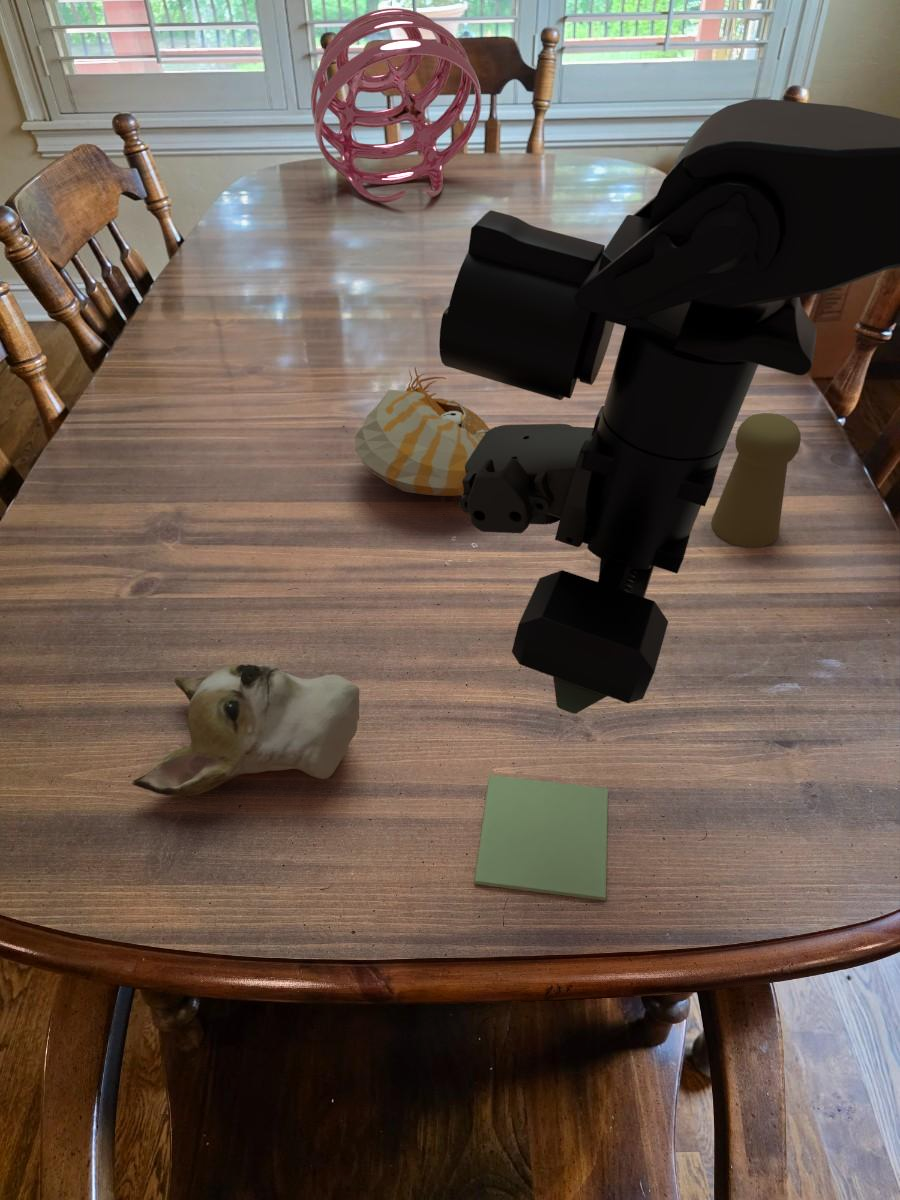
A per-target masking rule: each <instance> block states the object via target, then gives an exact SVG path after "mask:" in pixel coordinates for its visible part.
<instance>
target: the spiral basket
mask: <svg viewBox="0 0 900 1200" xmlns="http://www.w3.org/2000/svg"><path fill="white" fill-rule="evenodd" d="M391 29H401V30H402V31H404V33H405V35H406V37H407V38H404V39H403V38H402V39H397V40H396V39H395V40H391V41H387V42H384V43H381V44H378V45H377V44H376V45H375V46H372V47H370V48H368V49H366V50H364V51H362V52H360V53H358V54H357V55H355V56H354V57H352V58H351V59H349V50H350V47H351V46H352V45H354V44H355V43H357V42H358V41H360V40H362V39H365V38H367V37H368V36H370V35H373V34H376V33H379V32H382V31H386V30H391ZM420 29H422V30H426V31H429V32H430V31H431V33H432V35H433V36H434V38H435V40H430V39H425V38H423V35H422V33H421V30H420ZM450 43H451V44H452V45H453V46H454V47H455V49H454V48H453V47H451V45H450ZM423 56H428V57H435V58H437V64H436V66H435V70H434V72H433V74H432V76H431V77H430V79H429V81H428V82H427V83H426V84H425V86H424V87H423V88H422V89H421V90H420V91H419V92H418V93H416V94H414V93H412V91H410V89H409V87H408V84H407V82H408V80H409V79H410V78H411V77H412V76H413V75H414V74H415V72H416V71H417V70H418V68H419V66H420V63H421V62H422V59H423ZM399 57H405V58H404V59H403V60H402V62H401V63H400V64H399V65H398V66H395V64H393V63H392V61H391V60H390V59H394V58H395V59H396V58H399ZM334 61H335V67H336V70H337V71H336V72H335V73H334V74H333V75H332V76H331V78H330V79H328V74H327V71H328V69H329V67H330V66H331V64H332V63H333V62H334ZM384 61H385V63H386V65H387V68H388V72H387V73H385V74H381V75H366V74H365V72H366V69H369V68H370V67H372V66H375V65H377V64H379V63H382V62H384ZM452 64H454V65H455V66H457V67H458V68H460V69H461V79H460V83H459V86H458V90H457V92H456V94H455V96H454V98H453V100H452V101H451V103H450V105H449V106H448V107H447V109H446V110H445V111H444V112H443V113H442V115H440V117H438V118H437V119H436V120H435V121H434V122H432V123H428V122H427V121H426V119H425V117H424V113H425V110H426V109H427V107H429V106H430V105H431V104H432V103H433V102H434V101H435V100H436V99H437V98H438V96H439V95H440V94H441V92H442V90H443V89H444V87H445V85H446V84H447V81H448V79H449V76H450V72H451V68H452ZM311 85H312V86H311V91H310V109H311V114H312V119H313V129H314V135H315V139H316V143H317V145H318V148H319V150H320V152H321V154H322V155H323V157H324V159H325V160H326V161H327V163H328V164H329V166H331V167H332V168H333V169H334V170H336V171H337V172H338V173H339V174H341V175H342V176H343V177H345V178H346V180H348V182H349V183H350V184H351V185H352V187H353V188H354V190H356V192H357V193H358V194H360V195H361V196H362V197H364V198H365V199H367V200H369V201H371V202H373V203H374V202H375V203H381V204H388V203H392V202H396V201H398V200H400V199H402V198H403V197H404V196H406V195H407V190H406V189H405V190H401V191H398V192H396V193H394V194H390V195H384V196H381V195H375V194H372V193H371V192H369V191H368V190H367V189H366V188H365V186H364V185H363V184H370V185H377V186H378V185H381V186H382V185H383V186H384V185H395V184H396V185H397V184H402V183H406V182H410V181H413V180H416V179H420V178H422V177H428V178H429V180H430V184H431V186H430V187H431V189H430V188H428V187H424V189H423V190H424V193H425V194H426V195H427V196H428V197H430V198H435V197H437V196H438V195H439V194H440V193H442V190H443V186H444V175H443V174H444V173H443V169H444V168H445V166H446V165H447V163H449V162H450V161H451V160H452V159H453V158H454V157H455V156H456V155H458V154H459V153H460V152H461V150H462V149H463V148H464V147H465V146H466V145H467V143H468V142H469V141H470V139H471V137H472V136H473V135H474V132H475V130H476V128H477V125H478V123H479V120H480V116H481V112H482V91H481V90H482V89H481V85H480V82H479V78H478V76H477V73H476V71H475V69H474V68H473V66H472V65H471V62H470V59H469V57H468V54H467V52H466V50H465V48H464V47H463V45H462V44H461V42H460V41H459V40H458V39H457V37H455V35H454V34H453V33H452V32H450V31H449V30H448V29H447V28H445V27H444V26H442V25H440V24H438V23H437V22H435V21H434V20H432V19H431V18H430V17H428V16H426V15H424V14H422V13H420V12H418V11H415V10H411V9H407V8H397V7H396V8H395V7H393V8H381V9H377V10H373V11H370V12H367V13H365V14H363V15H360V16H358V17H356V18H354V19H353V20H351V21H350V22H349V23H347V24H346V25H345V26H343V27H342V28H341V29H340V30H339V31H338V32H336V33H335V35H334V36H333V38H332V39H331V40H330V42H328V44H327V46H326V48H325V50H324V51H323V54H322V56H321V59H320V63H319V66H318V68H317V70H316V72H315V75H314V77H313V81H312V84H311ZM345 85H347V87H348V91H347V95H346V98H345V99H344V100H341V99H339V98H338V97H337V94H338V92H339V91H341V89H342V88H343V87H344V86H345ZM472 85H473V89H474V105H473V109H472V112H471V114H470V117H469V119H468V121H467V123H466V125H465V126H464V128H463V130H462V131H461V132H460V134H459V135H457V137H456V138H455V140H453V142H451V143H450V144H449V145H448V146H447V147H446V148H445V149H442V150H438V148H437V141H438V139H439V138H440V137H441V136H443V135H444V134H445V132H447V131H448V130H449V129H450V128H451V127H452V126H453V125H454V123H456V121H457V119H458V118H459V117H460V116H461V114H462V112H463V110H464V108H465V106H466V105H467V102H468V99H469V96H470V93H471V89H472ZM318 90H319V91H318ZM389 90H397V92H398V93H399V95H400V97H401V98H400V99H401V102H400V103H399V105H397V106H394V107H391V108H386V109H380V110H366V109H365V110H364V109H360V108H358V107H357V105H356V101H357V96H358V94H359V93H361V92H363V93H369V94H374V93H383V92H387V91H389ZM318 92H319V94H320V95H319V97H318ZM317 97H318V99H317ZM327 109H328V110H329V111H330V112H331V113H332V114H333V115H335V116H336V118H337V119H338V121H339V132H338V133H337V132H335V131H334V130H332V128H330V127H329V126H328V125H327V123H326V122H325V120H324V119H325V115H326V112H327ZM402 122H409V123H410V124H411V125H412V128H413V133H412V134H411V135H410V136H409V137H407V138H404V139H401V140H397V141H393V142H388V143H387V142H386V143H375V144H373V143H372V144H371V143H370V144H369V143H363V142H358V141H356V140H355V139H354V137H353V135H352V134H353V133H352V132H353V129H354V127H362V128H383V127H388V126H393V125H397V124H399V123H402ZM323 139H324V140H325V141H326V142H327V143H328V144H329V145H331V146H332V147H333V148H334V149H335V150H336V151H337V152H338V153H339V156H340V160H341V161H339V160H338V159H336V158H335V157H334V156H333V155H332V154H331V152H329V151H328V149H327V147H326V146H325V143H324V140H323ZM415 152H420V153H421V154H422V156H423V159H422V161H421V162H420V163H419V164H416V165H414V166H411V167H409V168H405V169H404V168H403V169H401V170H395V171H389V172H373V171H371V172H370V171H364V170H361V169H359V168H358V167H357V166H356V164H355V159H357V158H358V159H359V158H360V159H367V160H386V159H393V158H398V157H401V156H402V157H403V156H405V155H407V154H411V153H415Z"/></svg>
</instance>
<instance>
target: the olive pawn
mask: <svg viewBox="0 0 900 1200" xmlns="http://www.w3.org/2000/svg"><path fill="white" fill-rule="evenodd" d="M801 436H802V434H801V431H800V429H799V426H798V425H797V424H796V423H795V421H793V420H792V419H790V418H788V417H786V416H784V415H781V414H778V413H773V412H772V413H771V412H762V413H761V412H760V413H755V414H752V415H750V416H748V417H747V418H745V419H744V420H743V421H742V423H741V424H740V425H739V426H738V429H737V430H736V435H735V442H734V443H735V449H736V451H737V456H736V458H735V461H734V464H733V466H732V468H731V471H730V473H729V476H728V478H727V480H726V483H725V486H724V488H723V490H722V492H721V495H720V497H719V499H718V502H717V505H716V508H715V510H714V512H713V515H712V518H711V521H710V525H711V528H712V531H713V532H714V533H715V534H716V536H717V537H719V538H720V539H722V540H723V541H725V542H727V543H729V544H731V545H734V546H738V547H742V548H761V547H766V546H769V545H771V544H773V543H774V542H776V540H777V539H778V537H779V534H780V526H781V520H782V519H781V518H782V511H783V502H784V495H785V486H786V479H787V478H786V477H787V473H788V463H790V462H791V461H792V460H793V459H794V458H795V457H796V455H797V454H798V452H799V449H800V446H801V440H802V439H801V438H802V437H801Z"/></svg>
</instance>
